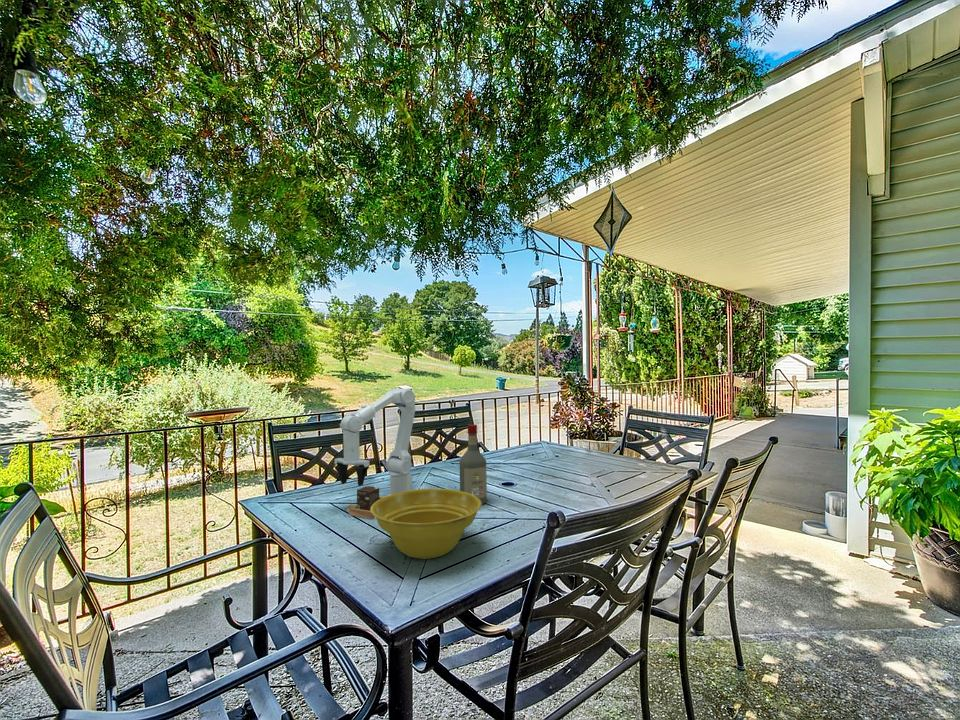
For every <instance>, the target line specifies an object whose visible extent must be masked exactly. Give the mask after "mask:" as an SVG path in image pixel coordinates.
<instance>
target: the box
mask: <svg viewBox="0 0 960 720" xmlns="http://www.w3.org/2000/svg"><path fill="white" fill-rule="evenodd" d="M379 496H380V487H375V486H370V485H366V486H364V487H363V486H362V487H361V488H358V489H356V505H360V509H361V510H368V511H370V509H371V506H372V505H373V504H374V503H375V502H376V501H378V500H379Z"/></svg>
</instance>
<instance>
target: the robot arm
mask: <svg viewBox="0 0 960 720" xmlns="http://www.w3.org/2000/svg"><path fill="white" fill-rule="evenodd" d="M415 401H416V395H415V393H414V391H413V390H412V389H411V388H397V387H393V388H391V389H390V390H388V391H386V393H385V394H384V395H383V396H381V397H380V398H379V399H377V400H375V402H373V403H372V404H362V405H361V407H360V408H359V409H358V410H356V411H352V412H351V414H350V415H346V416H344V417H343V418H342V419H341V422H340V423H339V427H340V429H341V430H342V435H343V438H342V439H343V457H337V458H334V469H335V471H336V472H337V474H338V477H339V480H340V483H341V485H344V484H347V483H348V482H347V481H348V468H349V466H356V467H355V468H354V469H355V472H356V477H357V478H356V479H357V485H358V486H357V487H361V486H363V485H364V482H365V478H366V475H367V472H368V471H369V469H370V464H371V463H370V460H368V459H363V458H360V457H361V456H360V431H361V429H362V427H363V426H364V425H365V424H367V423H368V422H369V421H371V420H372V419H374V418H375V417H376V413H377V412H379V411H380V410H383V408H386V407H387V406H389V405H391V404H394V406H396V407H397V408H398V409H399V411H400V417H399V425H398V429H397V434H396V440H395V445H394V449H393V450H392V451H391V452H390V453H389V457H388V458H387V460H386V463H385V465H386V466H385V468H386V470H387V471H388V473H389V491H390V492H389V494H387V495H386V496H389V495H392V494H395V493H399V492H404V491H410V490H413V477H412V475H411V473H410V472H411V470H412V456H411V454H410V453H409V446H410V443H411V435H412V430H413V426H414V425H413V424H414V420H415V419H414V418H415V413H416V404H415Z"/></svg>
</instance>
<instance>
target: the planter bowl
mask: <svg viewBox="0 0 960 720" xmlns="http://www.w3.org/2000/svg"><path fill="white" fill-rule="evenodd" d="M388 495H389V494H388ZM482 506H483V505H482V503H481V501H480V499H478V498H477V497H476V496H474V495H472V494H469V493H466V492H462V491H460V490H456V489H450V488H422V489H421V488H420V489H412V490H410V491H404V492H399V493H395V494H392V495H389V496H387V495H385V497H384V498H381V499H379V500H378V501H376V502H375V503H374V504H373V505H372V506H371V509H370V511H371V513H372V514H373V515H374V516H375V517H376V518H375V519H376V522H377V523H378V525H379V527H380V528H381V530H382V531H384V532H385V533H388V534H389V536H390V538H391V540H392V542H393V544H394V545H395V546H396V548H397V549H398V551H400V552H401V553H402V554H404V555H406V556H408V557H409V558H414V559H423V560H425V559H435V558H438V557H442V556H444V555H446V554H448V553H450V551H452V550H454V549H455V547H456V546H457V545H458V543H459V541H460V540H461V538H462V536H463V533H464V532H465V529H468V527H469V526H471V525H472V523H473V522H474V520H475V518H476V516H477V513H478V512H479V510H480V509H481V508H482Z"/></svg>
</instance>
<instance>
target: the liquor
mask: <svg viewBox="0 0 960 720" xmlns="http://www.w3.org/2000/svg"><path fill="white" fill-rule="evenodd" d="M477 434H478V426H477V424H467V443H468V444H467V450H466V451H465V452H464V454H463V455H461V457H460V458H459V491H462V492H466V493H469V494H472V495H474V496H476V497H477V498H478V499H480V501H481V503H482V504H483V505H485V504H486V503H487V501H488V496H487V495H488V491H487V489H488V486H487V483H488V482H487V460H486V458H485V456H483V454H482V453H481V452H480V451H479V448H478V435H477ZM484 503H485V504H484Z"/></svg>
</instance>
